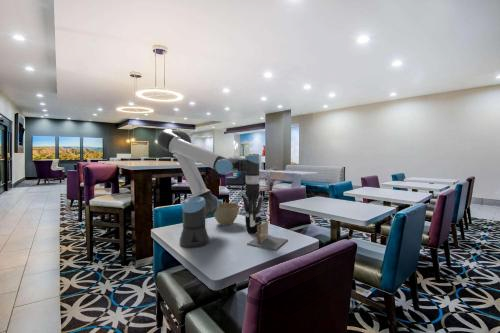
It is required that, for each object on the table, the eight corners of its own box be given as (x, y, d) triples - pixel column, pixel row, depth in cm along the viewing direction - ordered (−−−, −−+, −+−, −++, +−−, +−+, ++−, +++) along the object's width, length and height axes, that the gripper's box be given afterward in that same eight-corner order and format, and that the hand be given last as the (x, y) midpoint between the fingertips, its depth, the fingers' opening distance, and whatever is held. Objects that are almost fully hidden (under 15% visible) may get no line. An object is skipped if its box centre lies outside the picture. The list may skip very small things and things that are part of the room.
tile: (257, 242, 129) (257, 225, 128) (264, 237, 136) (264, 221, 136) (260, 243, 128) (260, 226, 127) (268, 238, 135) (268, 222, 135)
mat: (247, 244, 128) (247, 243, 128) (261, 235, 142) (261, 234, 142) (275, 250, 120) (275, 249, 120) (287, 240, 134) (287, 239, 134)
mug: (252, 235, 142) (252, 218, 141) (242, 231, 148) (242, 215, 148) (266, 230, 150) (266, 214, 150) (256, 227, 157) (256, 211, 156)
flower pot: (206, 223, 165) (206, 205, 164) (228, 218, 177) (228, 201, 177) (222, 229, 152) (222, 210, 151) (244, 224, 164) (244, 205, 163)
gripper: (238, 183, 133) (238, 226, 135) (260, 184, 127) (260, 229, 128) (245, 181, 140) (245, 222, 141) (266, 183, 133) (266, 225, 135)
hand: (252, 226), depth 135 cm, fingers closed
